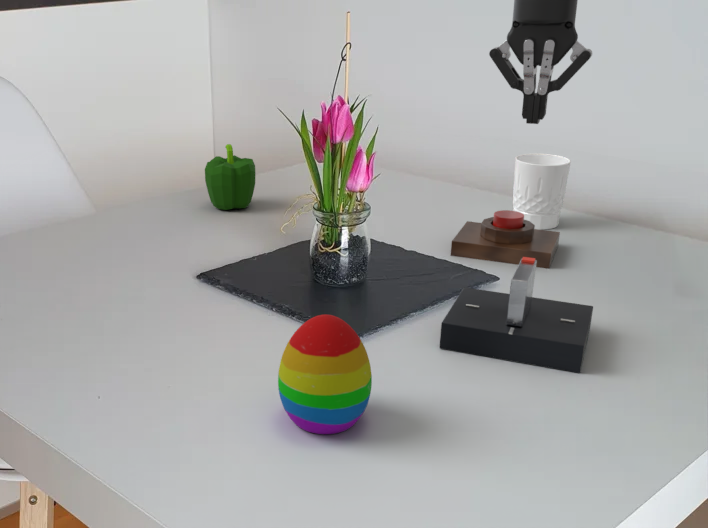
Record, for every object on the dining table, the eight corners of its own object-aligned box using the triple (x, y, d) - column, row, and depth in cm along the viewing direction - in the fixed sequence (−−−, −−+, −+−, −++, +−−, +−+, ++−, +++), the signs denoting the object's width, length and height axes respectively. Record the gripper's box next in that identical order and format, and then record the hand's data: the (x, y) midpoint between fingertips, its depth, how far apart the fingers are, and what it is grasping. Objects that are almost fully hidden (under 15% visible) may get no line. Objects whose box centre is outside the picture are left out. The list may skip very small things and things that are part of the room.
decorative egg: (388, 419, 75) (394, 316, 71) (326, 454, 69) (329, 346, 66) (321, 388, 80) (323, 291, 76) (259, 418, 75) (258, 316, 71)
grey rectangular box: (521, 327, 85) (527, 279, 83) (506, 324, 86) (511, 277, 84) (531, 303, 91) (537, 257, 89) (516, 300, 92) (521, 255, 90)
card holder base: (589, 330, 92) (593, 304, 91) (579, 373, 82) (584, 344, 81) (461, 310, 97) (464, 285, 96) (439, 348, 88) (441, 321, 87)
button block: (558, 246, 118) (561, 219, 117) (549, 269, 110) (552, 240, 108) (465, 235, 123) (468, 209, 122) (450, 256, 115) (452, 228, 113)
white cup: (506, 228, 126) (514, 163, 122) (509, 214, 133) (516, 152, 129) (561, 233, 124) (571, 167, 120) (562, 218, 131) (570, 155, 127)
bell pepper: (249, 215, 134) (248, 153, 130) (200, 212, 135) (198, 151, 132) (261, 201, 141) (261, 142, 137) (214, 198, 143) (213, 140, 139)
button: (524, 224, 116) (526, 212, 115) (520, 232, 113) (521, 219, 112) (495, 220, 118) (496, 208, 117) (490, 228, 114) (491, 216, 114)
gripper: (487, -17, 103) (476, 125, 110) (602, -18, 98) (583, 131, 104) (498, -19, 109) (487, 115, 116) (607, -20, 104) (589, 120, 110)
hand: (533, 122), depth 110 cm, fingers closed
